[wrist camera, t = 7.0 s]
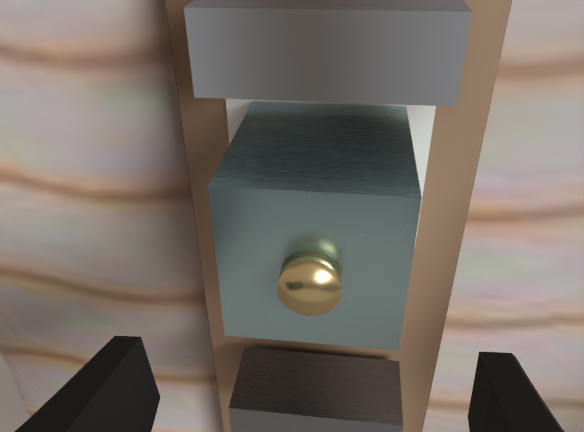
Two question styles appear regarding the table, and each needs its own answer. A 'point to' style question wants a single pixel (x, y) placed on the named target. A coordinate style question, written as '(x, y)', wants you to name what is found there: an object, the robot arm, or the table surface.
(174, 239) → the table surface
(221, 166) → the block
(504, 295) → the table surface
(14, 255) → the table surface
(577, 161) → the table surface
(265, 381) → the ram
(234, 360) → the press bed
